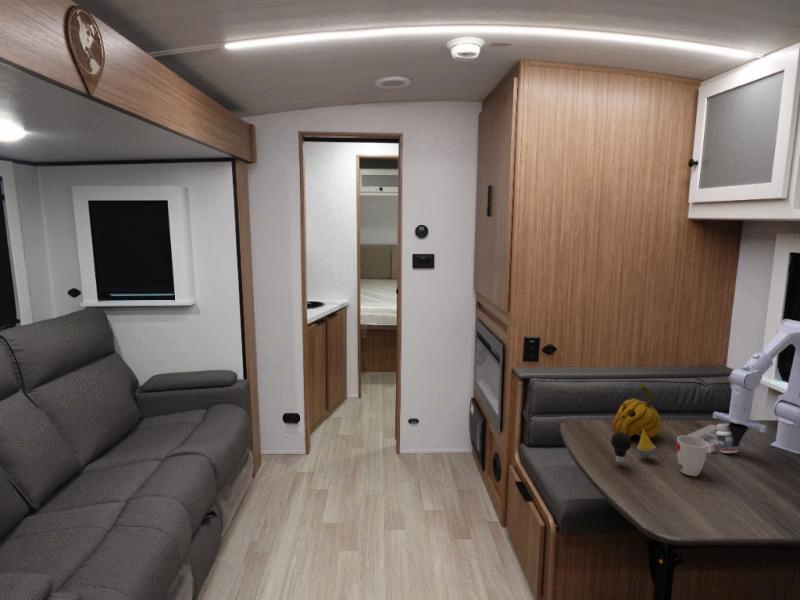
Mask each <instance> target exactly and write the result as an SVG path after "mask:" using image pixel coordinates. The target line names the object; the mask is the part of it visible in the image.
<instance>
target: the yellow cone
mask: <svg viewBox="0 0 800 600" xmlns="http://www.w3.org/2000/svg"><path fill="white" fill-rule="evenodd" d="M650 439H651V438H649V437H648V436H647V435H646V432H645V431H644V429H643V431H642V435H641V437H640V439H639V442H638V445H637V446H636V449H637V452H638V454H639V455H640V456H642V457H645V458H647V459H648V458H649V456H651V455H653V454H655V452H656V450H657V448H656V445H654V444H653V443H652V441H651V440H650Z"/></svg>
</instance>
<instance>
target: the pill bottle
mask: <svg viewBox="0 0 800 600" xmlns="http://www.w3.org/2000/svg"><path fill="white" fill-rule="evenodd" d="M729 425H730V423H717V424H716V426H717V429H718V431H717V432H716V436H717V439H718V444H719V445H718V447H719V451H720V452H721V453H724V454H734V453H735V454H736V453H739V451H740V448H739V446H738V447H735V446H734V440H733V436H732V433H731V431H730V429H729Z"/></svg>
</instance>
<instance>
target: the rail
mask: <svg viewBox="0 0 800 600" xmlns="http://www.w3.org/2000/svg"><path fill="white" fill-rule="evenodd" d="M717 431H718V429H717V425H715V424H709V425H707V426H704V427H703V428H700V429H697V430H695V431H693V432H691V433H688V434H685V436H693V437H697V438H700V439H702V440H704V441H706V442H707V443H708V449H707V454H708V453H709V454H712V453H715V452H716V445H717V446H719V444H718V439H717V435H716V432H717Z"/></svg>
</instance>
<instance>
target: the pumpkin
mask: <svg viewBox="0 0 800 600" xmlns="http://www.w3.org/2000/svg"><path fill="white" fill-rule="evenodd" d="M638 388H639V389H640V390H641V391H642V392H644V393H645V394H646V395H647V396H648V397H649V399H648V400H646V402H645V401H642V400H640V399H637V398H630V399H627V400H624V401H623V402H622V403H621V405H620V407H619V408H618V410H617V411H616V412H617V413H616V415H615V416H614V418H613V422H612V423H611V429H612V431H613V433H614V434H615V433H618V432H621V433H625V434H627V435H628V436H629V437H630V438H632V437H633V436H634V435H637V436H639V437H640V438H641V435H642V431H643V429H644V431H645V432H646V435H647V436H648V437H649V439H652V438H655V437H656V436H657V435H659V434H660V431H661V429H662V418H661V417H660V416H661V415H659V412H658V411H657V410H656V409H655V408H654V407H653V405H652V403H654V401H655V395H654V393H653V392H652V391H651V390H650V389H649V388H648V387H647V386H646V385H645V384H644V383H643V384H642V383H641V384H639V386H638Z"/></svg>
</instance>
